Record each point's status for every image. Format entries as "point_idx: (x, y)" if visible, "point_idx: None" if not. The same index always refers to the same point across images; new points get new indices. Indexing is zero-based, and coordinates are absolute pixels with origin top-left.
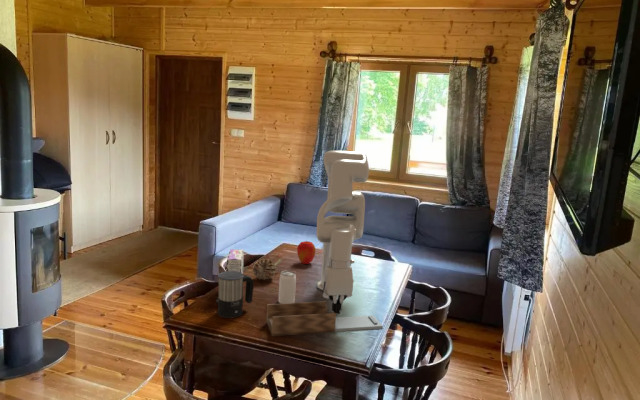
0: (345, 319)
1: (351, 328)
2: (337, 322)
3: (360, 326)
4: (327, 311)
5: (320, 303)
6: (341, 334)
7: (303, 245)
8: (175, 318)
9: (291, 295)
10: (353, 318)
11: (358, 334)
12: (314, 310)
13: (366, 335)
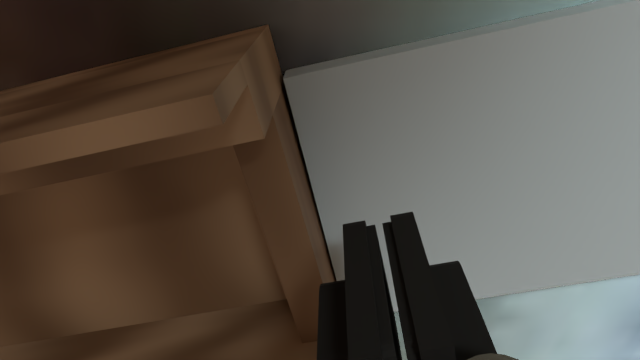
0: (514, 107)
1: (515, 288)
2: (395, 194)
3: (625, 263)
4: (266, 123)
5: (89, 142)
6: (399, 340)
7: None
8: None
9: None
10: (637, 64)
11: (547, 335)
12: (58, 178)
13: (611, 346)
